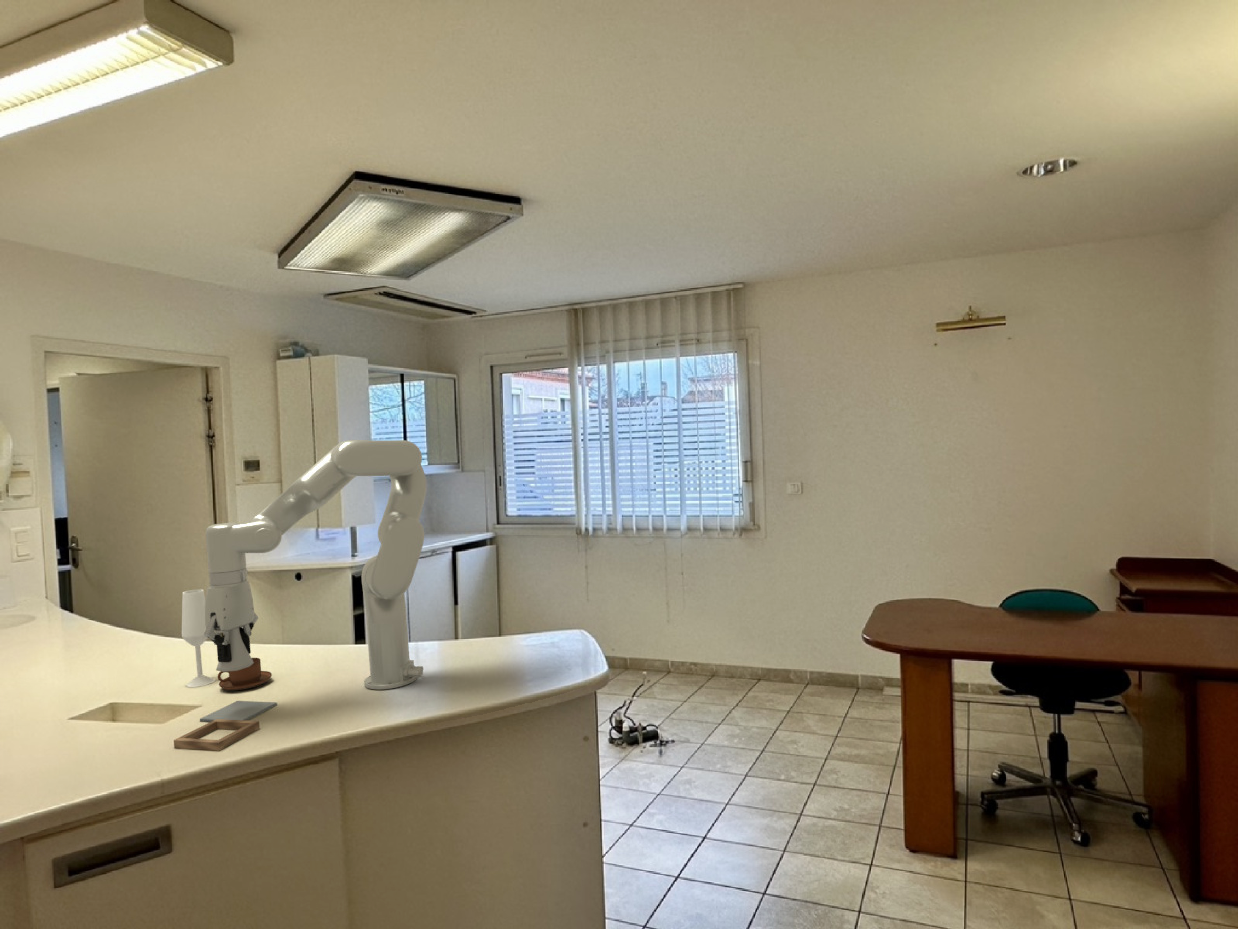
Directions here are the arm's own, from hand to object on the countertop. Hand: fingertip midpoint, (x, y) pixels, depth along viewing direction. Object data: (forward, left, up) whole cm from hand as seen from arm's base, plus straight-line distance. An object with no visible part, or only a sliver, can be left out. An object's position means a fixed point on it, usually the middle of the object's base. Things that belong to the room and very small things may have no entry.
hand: (234, 657), depth 166 cm
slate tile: (0, 0, -13) cm, 13 cm away
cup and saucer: (+14, -17, -13) cm, 26 cm away
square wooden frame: (-7, +13, -13) cm, 19 cm away
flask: (0, 0, -3) cm, 3 cm away
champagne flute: (+28, -18, -13) cm, 36 cm away
